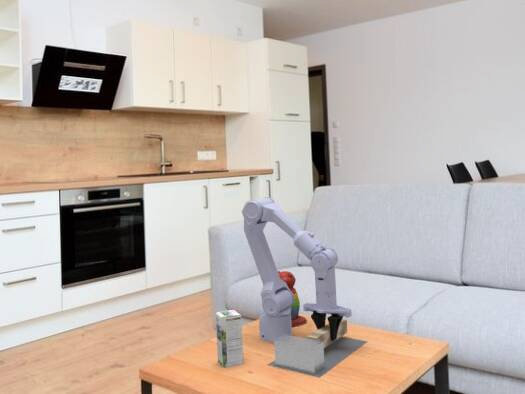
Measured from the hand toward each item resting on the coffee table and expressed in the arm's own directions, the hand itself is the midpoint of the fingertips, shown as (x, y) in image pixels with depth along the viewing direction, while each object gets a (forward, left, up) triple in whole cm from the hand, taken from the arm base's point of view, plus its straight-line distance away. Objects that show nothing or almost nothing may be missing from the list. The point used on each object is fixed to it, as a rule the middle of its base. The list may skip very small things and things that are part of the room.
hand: (328, 338), depth 144 cm
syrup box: (-18, -22, -4) cm, 29 cm away
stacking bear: (-24, +15, -4) cm, 29 cm away
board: (0, -5, -3) cm, 6 cm away
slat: (0, 0, -1) cm, 1 cm away
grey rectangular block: (0, -16, -2) cm, 16 cm away
